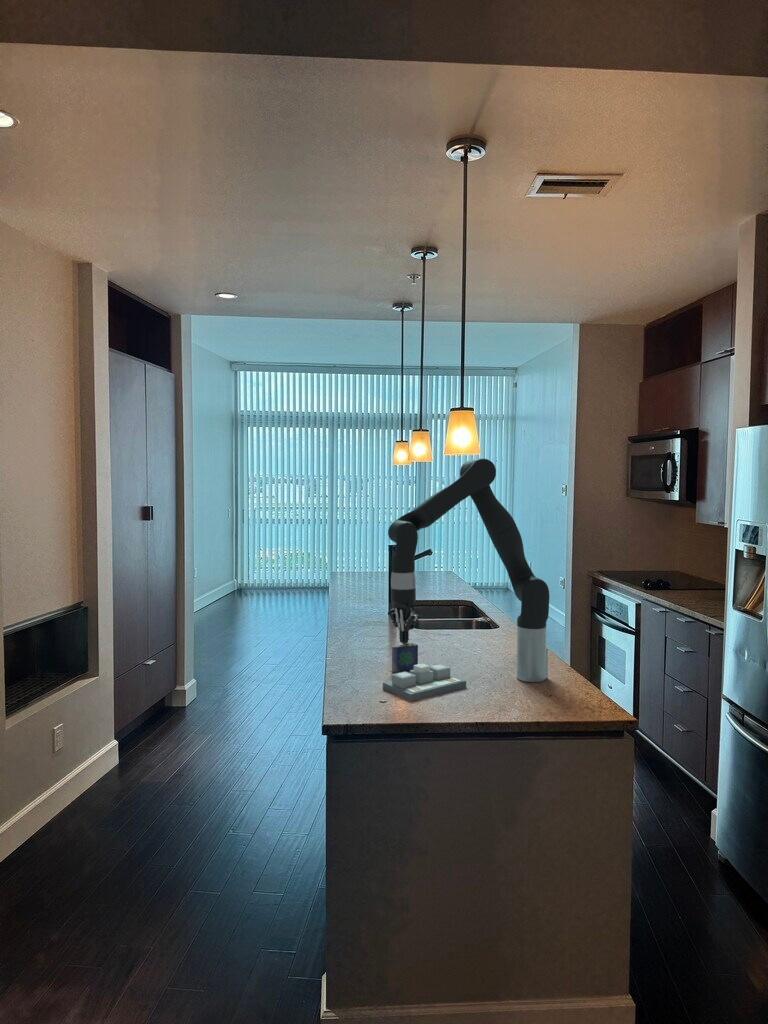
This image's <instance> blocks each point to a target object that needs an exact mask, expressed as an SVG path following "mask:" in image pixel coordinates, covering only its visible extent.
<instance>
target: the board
mask: <svg viewBox="0 0 768 1024" xmlns="http://www.w3.org/2000/svg"><path fill="white" fill-rule="evenodd" d="M436 665H442V666H445V667H447V668H444V669H440V670H437V669H434V668H431V666H436ZM429 666H430V672H426V673H422V674H420V673H417V672H415V671H414V670H410V672H406V673H408V674H411V675H412V676H409V677H404V678H402V677H399V676H397V675H396V674H399V673H400V672H399V673H393V674H391V680H388V681H383V682H382V689H383V690H385V691H387V692H389V693H391V694H394V695H396V696H398V697H401V698H403V699H405V700H407V701H409V702H413V701H417V700H420V699H424V698H428V697H431V696H435V695H439V694H444V693H447V692H453V691H456V690H461V689H464V688H467V680H465V679H463V678H460V677H457V676H454V675H452V674H451V667H449V666H447V665H444V664H440V663H438V664H435V665H429ZM401 673H404V672H401Z"/></svg>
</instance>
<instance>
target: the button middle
mask: <svg viewBox="0 0 768 1024" xmlns="http://www.w3.org/2000/svg"><path fill="white" fill-rule="evenodd" d="M430 666H431V665H428V664H425V663H418V664H417V665H414V671H415V672H417V673H420V674H422V673H426V672H430Z"/></svg>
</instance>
